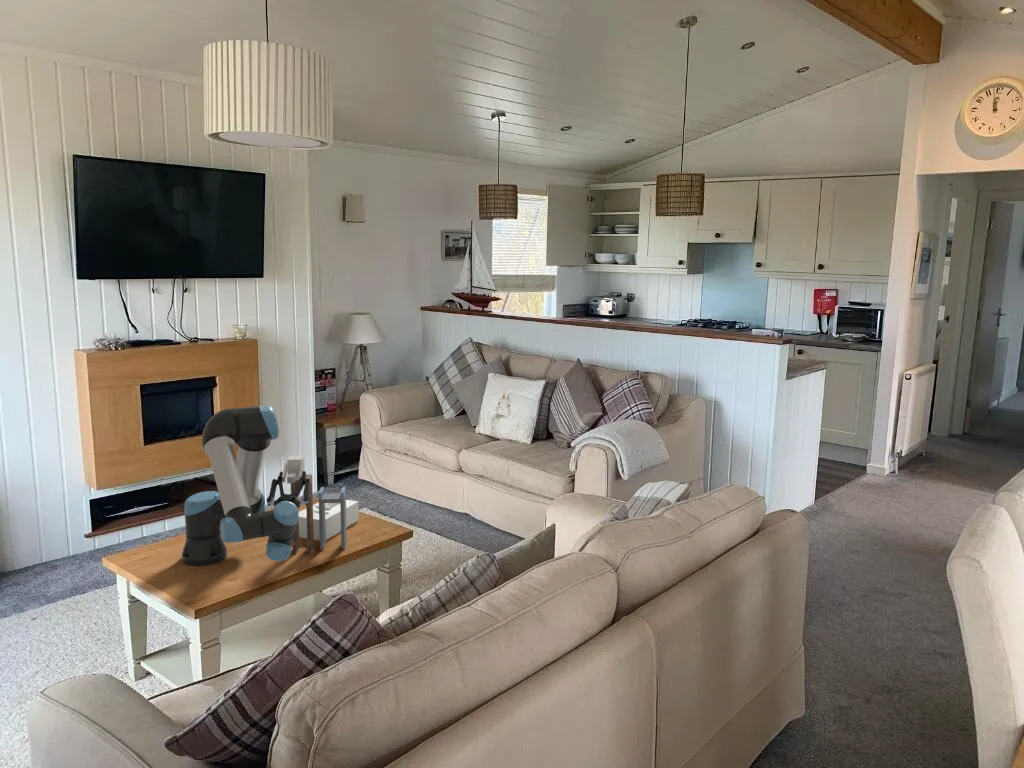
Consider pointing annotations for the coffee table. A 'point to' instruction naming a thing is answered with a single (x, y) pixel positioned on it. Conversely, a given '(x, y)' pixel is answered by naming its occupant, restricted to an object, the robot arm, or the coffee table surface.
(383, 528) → the coffee table surface
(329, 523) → the tissue box
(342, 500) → the short stand
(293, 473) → the plug
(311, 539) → the tall stand
